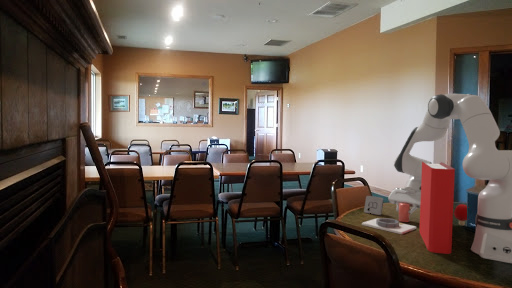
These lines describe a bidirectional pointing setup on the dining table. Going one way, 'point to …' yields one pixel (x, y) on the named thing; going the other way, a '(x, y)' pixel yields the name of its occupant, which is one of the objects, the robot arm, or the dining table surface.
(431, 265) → the dining table surface
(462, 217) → the red mushroom
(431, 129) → the robot arm
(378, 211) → the electrical switch
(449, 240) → the book
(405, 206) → the lockout cap
